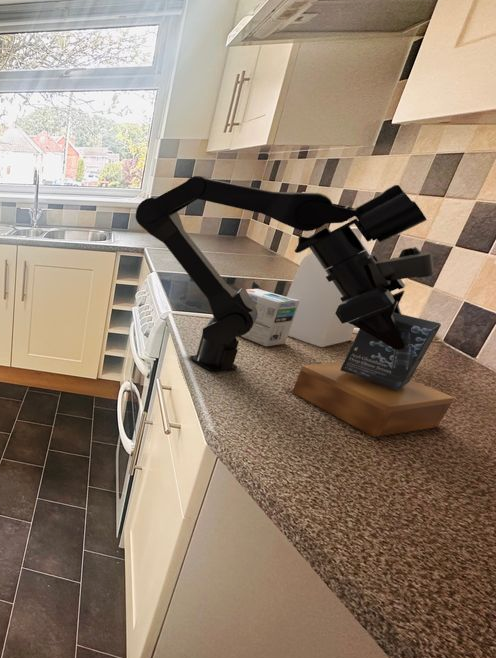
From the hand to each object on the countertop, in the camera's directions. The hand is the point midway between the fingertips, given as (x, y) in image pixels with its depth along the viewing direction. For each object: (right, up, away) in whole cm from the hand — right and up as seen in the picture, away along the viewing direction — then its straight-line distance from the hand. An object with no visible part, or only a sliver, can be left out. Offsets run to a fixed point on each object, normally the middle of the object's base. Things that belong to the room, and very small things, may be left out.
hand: (403, 343), depth 66 cm
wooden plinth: (-1, -11, +6) cm, 13 cm away
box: (-1, -6, +4) cm, 7 cm away
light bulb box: (0, +2, +36) cm, 36 cm away
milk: (+15, +3, +38) cm, 42 cm away
